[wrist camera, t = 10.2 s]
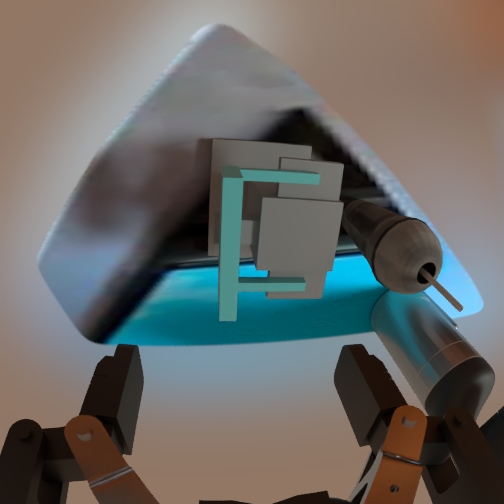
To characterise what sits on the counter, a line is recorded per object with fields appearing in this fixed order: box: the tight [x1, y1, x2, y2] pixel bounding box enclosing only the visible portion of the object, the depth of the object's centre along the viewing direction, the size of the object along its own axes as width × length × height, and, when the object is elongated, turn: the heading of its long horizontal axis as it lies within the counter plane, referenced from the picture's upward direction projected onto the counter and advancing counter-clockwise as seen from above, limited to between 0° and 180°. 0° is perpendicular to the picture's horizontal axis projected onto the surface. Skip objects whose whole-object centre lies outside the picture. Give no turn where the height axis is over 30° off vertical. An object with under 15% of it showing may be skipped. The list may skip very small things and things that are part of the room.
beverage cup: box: [341, 200, 463, 312], centre depth 29 cm, size 7×7×20 cm
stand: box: [208, 139, 344, 299], centre depth 31 cm, size 10×13×12 cm
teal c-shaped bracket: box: [218, 166, 320, 321], centre depth 23 cm, size 7×10×5 cm
